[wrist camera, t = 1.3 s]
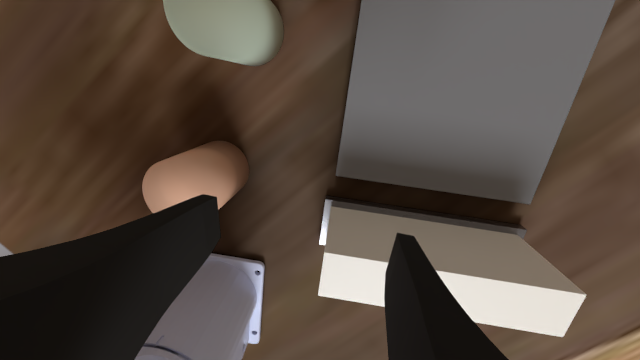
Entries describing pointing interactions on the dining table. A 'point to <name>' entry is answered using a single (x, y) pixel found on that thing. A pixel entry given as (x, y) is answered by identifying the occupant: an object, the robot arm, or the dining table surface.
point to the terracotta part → (196, 175)
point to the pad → (464, 91)
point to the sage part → (228, 28)
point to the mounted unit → (447, 264)
